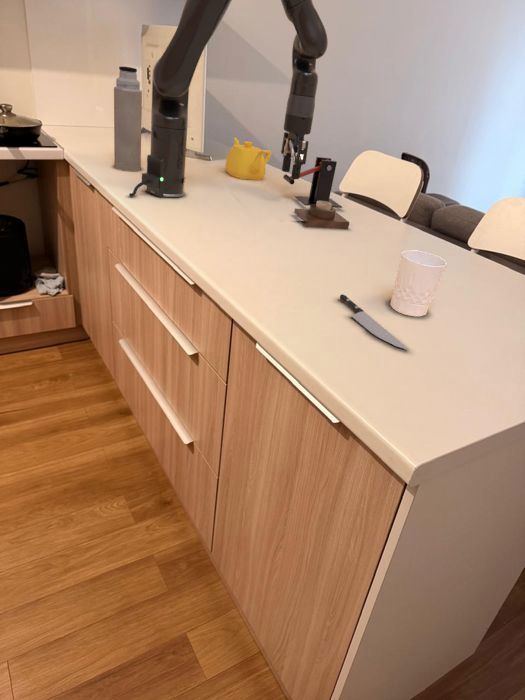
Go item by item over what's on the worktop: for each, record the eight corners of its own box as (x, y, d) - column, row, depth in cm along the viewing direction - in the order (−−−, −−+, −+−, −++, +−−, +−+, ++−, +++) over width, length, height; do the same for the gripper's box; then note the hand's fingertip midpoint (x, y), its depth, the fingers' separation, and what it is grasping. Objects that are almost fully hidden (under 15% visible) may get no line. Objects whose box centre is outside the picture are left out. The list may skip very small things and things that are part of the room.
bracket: (304, 208, 147) (313, 160, 140) (294, 199, 154) (302, 154, 147) (341, 210, 150) (351, 164, 144) (330, 202, 158) (339, 157, 151)
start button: (318, 211, 132) (320, 204, 131) (313, 206, 135) (314, 200, 135) (332, 211, 133) (334, 205, 133) (326, 207, 137) (328, 201, 136)
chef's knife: (392, 354, 78) (408, 351, 79) (394, 348, 78) (409, 345, 79) (329, 299, 92) (342, 297, 94) (329, 294, 92) (343, 292, 93)
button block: (306, 227, 130) (309, 212, 128) (293, 215, 138) (296, 200, 136) (347, 229, 134) (351, 214, 132) (333, 217, 142) (336, 203, 140)
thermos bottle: (123, 163, 163) (123, 65, 149) (145, 168, 162) (147, 69, 148) (109, 167, 157) (108, 64, 143) (132, 172, 155) (132, 68, 141)
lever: (290, 186, 144) (288, 178, 142) (284, 181, 149) (282, 173, 147) (334, 170, 145) (333, 162, 143) (326, 165, 150) (325, 157, 148)
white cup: (381, 297, 97) (396, 247, 92) (420, 301, 98) (436, 252, 93) (394, 316, 90) (410, 263, 85) (435, 320, 91) (454, 268, 86)
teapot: (283, 184, 170) (288, 150, 165) (241, 183, 163) (245, 147, 158) (253, 168, 186) (257, 137, 181) (215, 166, 179) (218, 134, 174)
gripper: (278, 108, 141) (270, 168, 150) (295, 115, 130) (285, 180, 138) (303, 111, 144) (294, 170, 152) (322, 119, 132) (310, 182, 140)
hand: (290, 175), depth 145 cm, fingers open, 8 cm apart
